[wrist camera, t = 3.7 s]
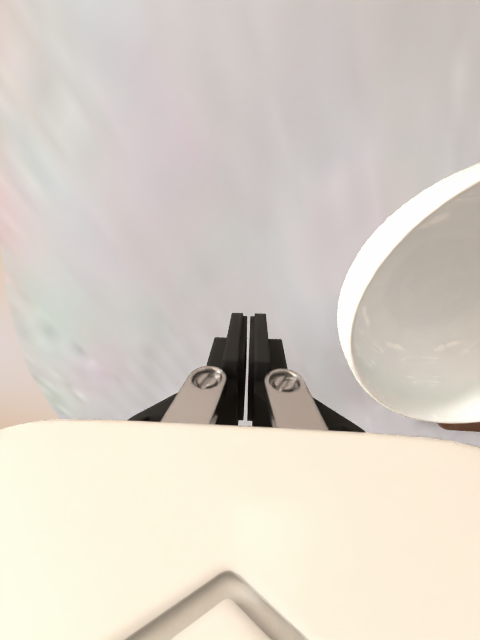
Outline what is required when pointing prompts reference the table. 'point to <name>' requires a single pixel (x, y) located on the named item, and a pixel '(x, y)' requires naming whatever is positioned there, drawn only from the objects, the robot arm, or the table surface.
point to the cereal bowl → (419, 305)
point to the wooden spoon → (461, 426)
